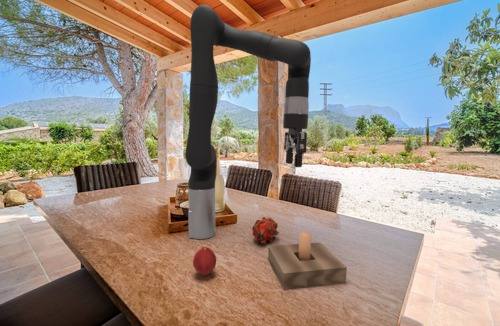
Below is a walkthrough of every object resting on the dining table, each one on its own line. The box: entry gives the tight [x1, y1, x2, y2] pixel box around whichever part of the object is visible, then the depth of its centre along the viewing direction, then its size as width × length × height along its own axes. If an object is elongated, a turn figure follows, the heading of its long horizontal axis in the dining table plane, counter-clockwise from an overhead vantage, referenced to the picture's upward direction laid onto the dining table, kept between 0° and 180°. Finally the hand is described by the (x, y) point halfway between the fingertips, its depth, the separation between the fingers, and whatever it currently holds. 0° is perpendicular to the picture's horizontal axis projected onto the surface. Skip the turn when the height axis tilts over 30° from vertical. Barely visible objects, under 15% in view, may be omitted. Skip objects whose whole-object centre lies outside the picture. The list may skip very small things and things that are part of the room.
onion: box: [192, 245, 217, 276], centre depth 62 cm, size 6×6×8 cm
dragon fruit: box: [251, 217, 280, 245], centre depth 82 cm, size 8×8×12 cm
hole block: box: [267, 241, 348, 290], centre depth 64 cm, size 16×14×4 cm
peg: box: [298, 231, 312, 261], centre depth 64 cm, size 3×3×10 cm
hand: (293, 165), depth 77 cm, fingers open, 8 cm apart
